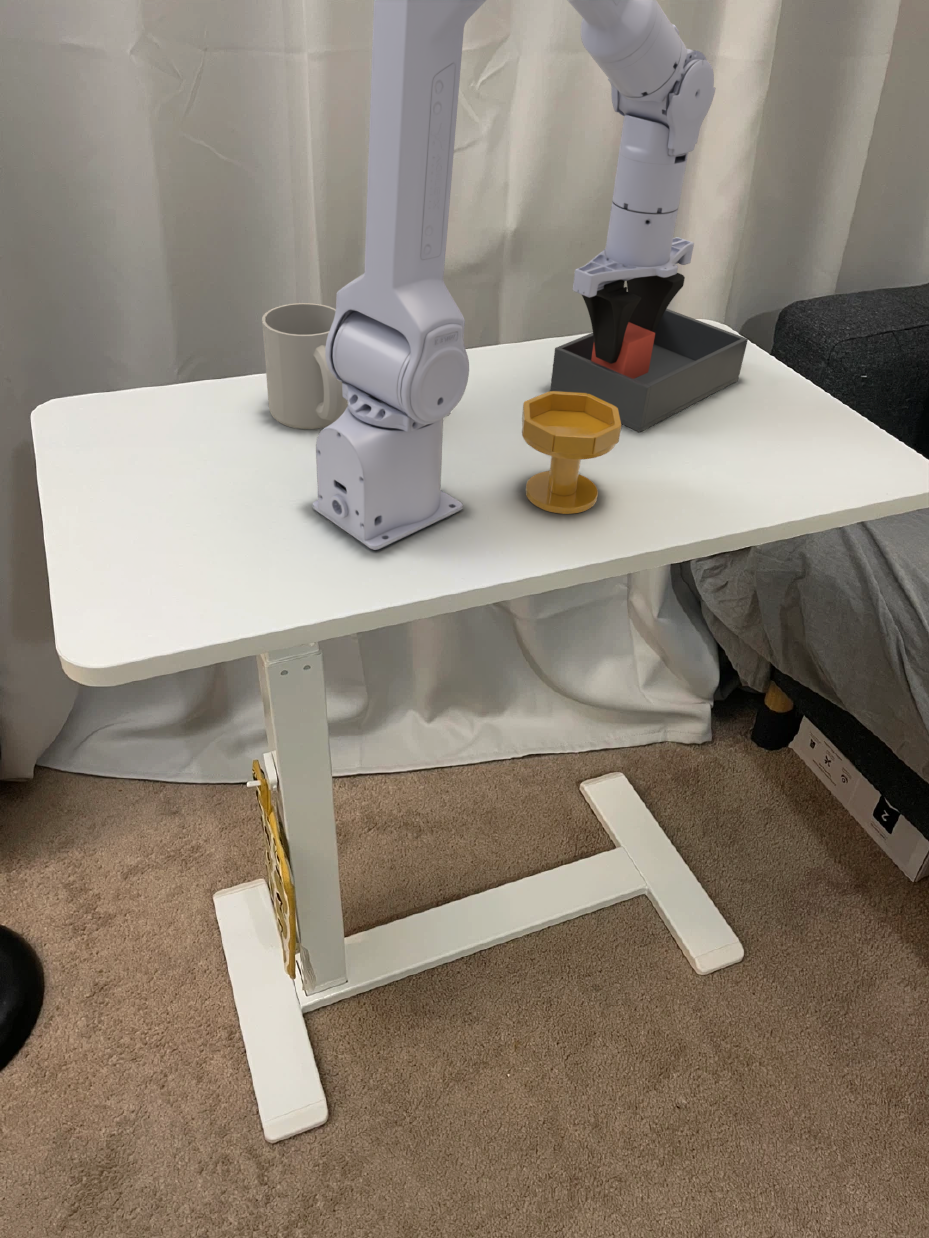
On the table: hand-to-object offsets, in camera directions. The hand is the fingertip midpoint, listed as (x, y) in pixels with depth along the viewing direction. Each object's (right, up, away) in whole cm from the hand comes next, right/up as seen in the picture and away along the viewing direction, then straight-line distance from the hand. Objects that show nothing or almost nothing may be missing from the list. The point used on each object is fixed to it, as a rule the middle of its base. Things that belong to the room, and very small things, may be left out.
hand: (621, 353), depth 94 cm
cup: (-29, -7, -3) cm, 30 cm away
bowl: (-7, -15, -11) cm, 19 cm away
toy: (0, -1, +1) cm, 2 cm away
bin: (+3, -2, +6) cm, 7 cm away
